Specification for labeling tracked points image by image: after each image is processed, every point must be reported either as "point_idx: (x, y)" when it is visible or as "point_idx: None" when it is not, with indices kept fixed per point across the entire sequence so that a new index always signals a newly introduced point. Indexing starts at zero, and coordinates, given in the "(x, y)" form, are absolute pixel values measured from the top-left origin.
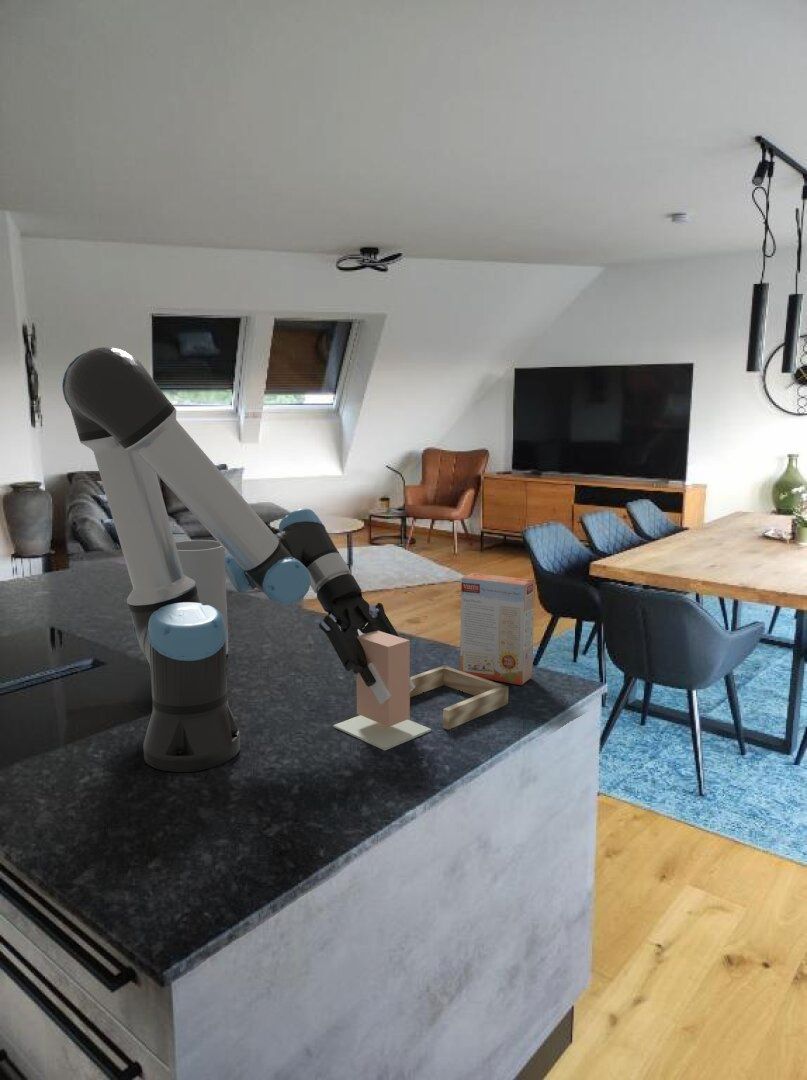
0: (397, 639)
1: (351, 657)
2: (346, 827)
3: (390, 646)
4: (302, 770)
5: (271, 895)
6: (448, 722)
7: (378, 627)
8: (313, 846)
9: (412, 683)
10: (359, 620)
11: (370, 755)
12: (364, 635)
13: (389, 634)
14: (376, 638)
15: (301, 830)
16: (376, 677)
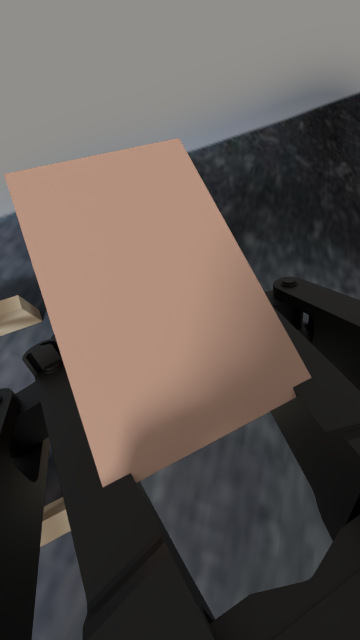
0: (68, 217)
1: (307, 287)
2: (274, 145)
3: (163, 142)
4: (306, 268)
5: (342, 100)
6: (31, 304)
7: (79, 537)
8: (307, 134)
9: None
10: (349, 631)
11: None
12: (253, 386)
13: (63, 340)
14: (192, 286)
15: (316, 158)
16: None
